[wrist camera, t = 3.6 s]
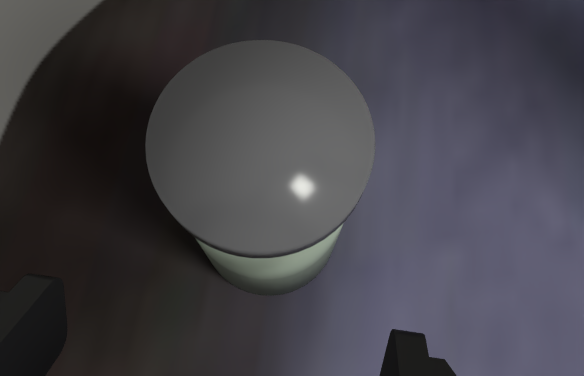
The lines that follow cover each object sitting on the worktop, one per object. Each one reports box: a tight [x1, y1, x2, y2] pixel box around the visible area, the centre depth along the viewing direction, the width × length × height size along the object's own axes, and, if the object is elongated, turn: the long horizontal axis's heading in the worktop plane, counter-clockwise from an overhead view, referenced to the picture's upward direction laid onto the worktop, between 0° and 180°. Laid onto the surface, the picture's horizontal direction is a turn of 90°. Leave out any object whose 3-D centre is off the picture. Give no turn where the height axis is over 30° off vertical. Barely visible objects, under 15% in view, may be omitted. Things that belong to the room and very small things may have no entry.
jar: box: [145, 40, 375, 295], centre depth 20 cm, size 6×6×10 cm
